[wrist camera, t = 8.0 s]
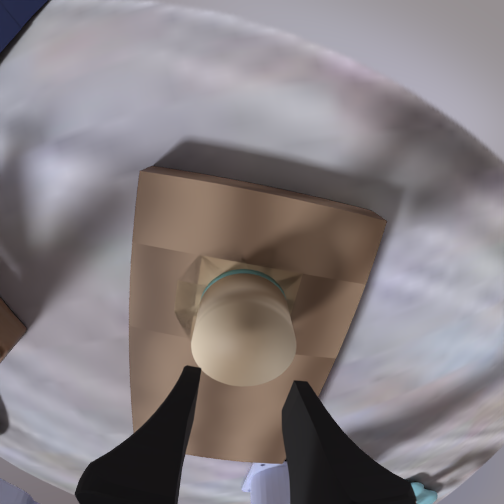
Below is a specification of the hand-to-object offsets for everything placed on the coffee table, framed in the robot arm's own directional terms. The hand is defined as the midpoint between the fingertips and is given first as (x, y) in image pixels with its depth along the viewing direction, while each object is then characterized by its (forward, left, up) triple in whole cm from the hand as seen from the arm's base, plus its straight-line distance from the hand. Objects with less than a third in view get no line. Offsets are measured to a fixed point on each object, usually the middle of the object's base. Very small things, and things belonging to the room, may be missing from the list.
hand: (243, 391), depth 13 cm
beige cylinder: (0, 0, -9) cm, 9 cm away
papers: (+36, -15, -10) cm, 40 cm away
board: (0, +5, -9) cm, 11 cm away
